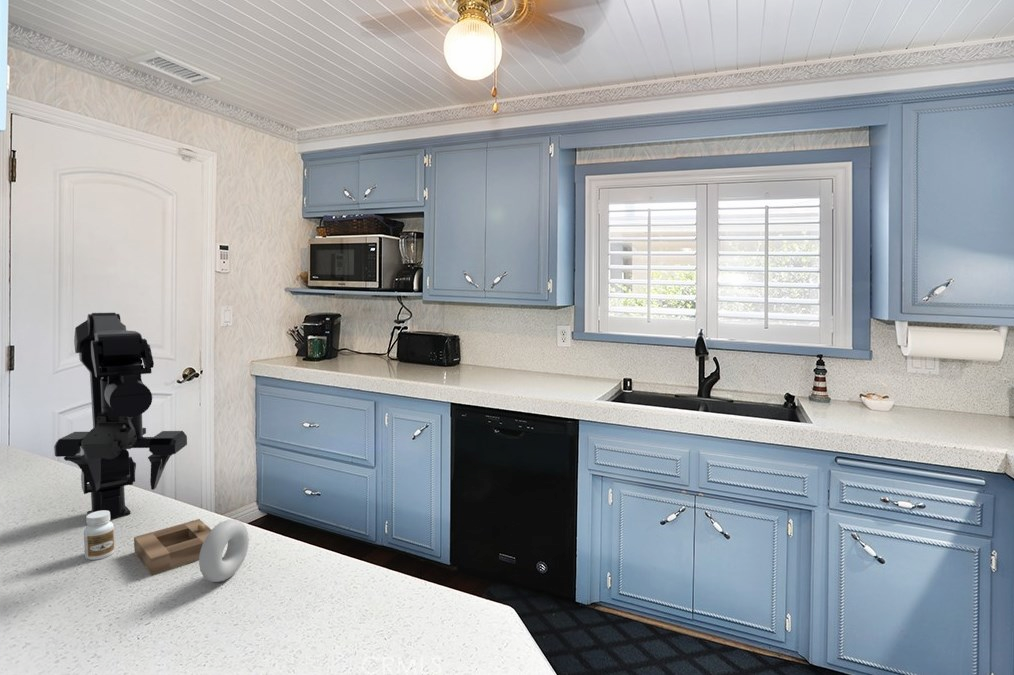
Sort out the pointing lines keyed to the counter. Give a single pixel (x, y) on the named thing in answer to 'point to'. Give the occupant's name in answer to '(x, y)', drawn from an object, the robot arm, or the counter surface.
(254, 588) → the counter surface
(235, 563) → the donut
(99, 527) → the pill bottle
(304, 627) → the counter surface
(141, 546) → the socket block
